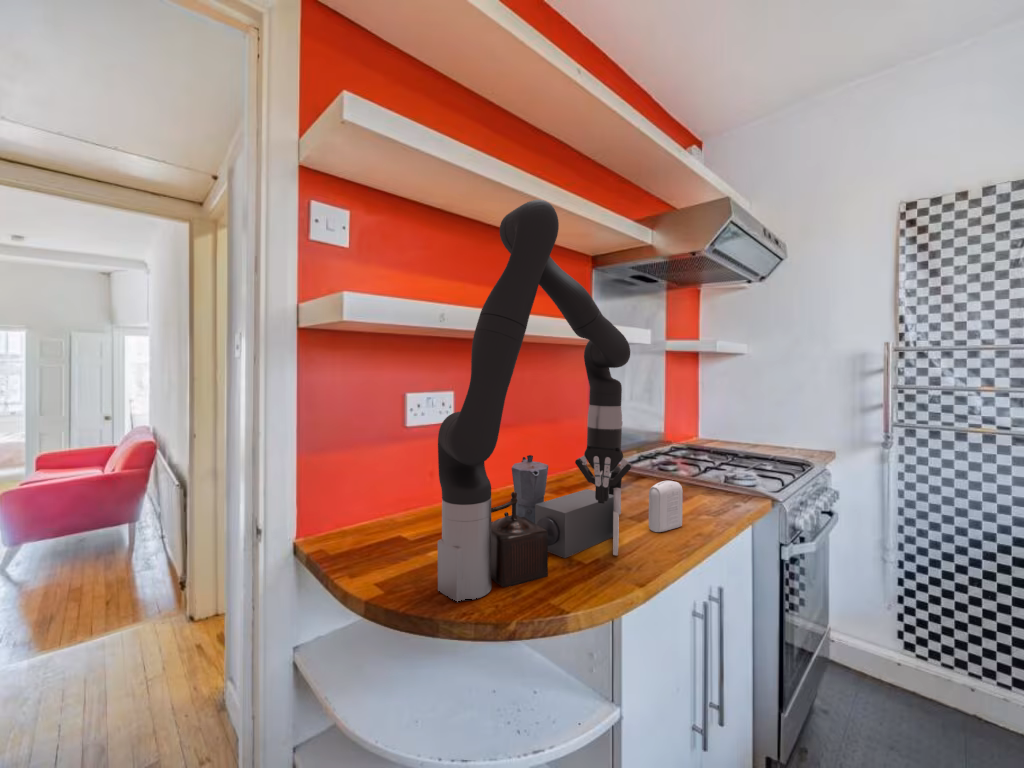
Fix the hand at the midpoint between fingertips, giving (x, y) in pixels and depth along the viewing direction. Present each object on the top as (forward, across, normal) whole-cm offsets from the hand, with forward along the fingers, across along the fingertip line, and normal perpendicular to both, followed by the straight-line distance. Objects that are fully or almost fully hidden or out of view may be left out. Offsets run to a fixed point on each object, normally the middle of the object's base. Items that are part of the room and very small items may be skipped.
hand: (602, 502), depth 99 cm
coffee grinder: (+12, -17, -17) cm, 27 cm away
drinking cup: (+12, -2, +28) cm, 30 cm away
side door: (+11, +3, +6) cm, 13 cm away
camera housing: (+12, -6, +5) cm, 14 cm away
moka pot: (+12, -20, +7) cm, 24 cm away
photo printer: (+11, +13, +23) cm, 29 cm away
